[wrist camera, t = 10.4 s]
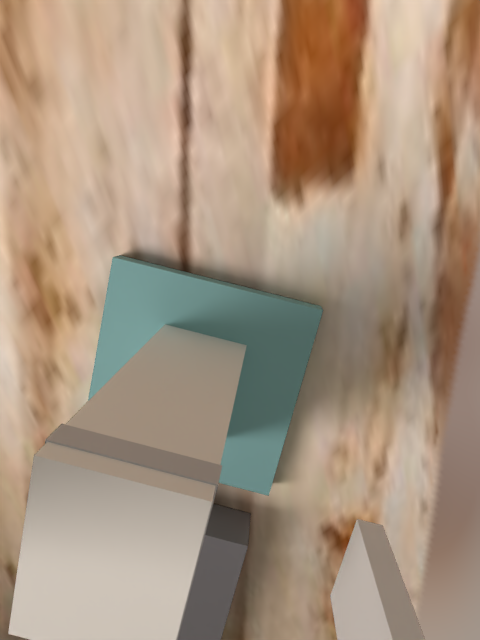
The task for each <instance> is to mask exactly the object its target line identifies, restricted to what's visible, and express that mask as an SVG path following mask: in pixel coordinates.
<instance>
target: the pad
mask: <svg viewBox="0 0 480 640" xmlns="http://www.w3.org/2000/svg"><path fill="white" fill-rule="evenodd" d="M322 312H323V309H322V307H321V306H319V305H315V304H311V303H307V302H303V301H299V300H295V299H291V298H287V297H283V296H279V295H275V294H271V293H267V292H263V291H259V290H255V289H251V288H247V287H244V286H240V285H236V284H232V283H228V282H224V281H220V280H216V279H212V278H208V277H204V276H200V275H196V274H192V273H188V272H184V271H180V270H176V269H172V268H168V267H164V266H160V265H157V264H153V263H149V262H145V261H141V260H137V259H133V258H129V257H125V256H121V255H119V256H115V257H113V259H112V265H111V271H110V277H109V282H108V288H107V294H106V300H105V306H104V311H103V317H102V323H101V329H100V335H99V340H98V346H97V352H96V358H95V364H94V370H93V375H92V381H91V387H90V393H89V399H88V401H89V400H90V399H91V398H92V397H93V396H94V395H95V394H96V393H97V392H98V391H99V390H100V389H101V388H102V387H103V386H104V385H105V384H106V383H107V382H108V381H109V380H110V379H111V378H112V377H113V376H114V375H115V374H116V373H117V372H118V371H119V370H120V369H121V368H122V367H123V366H124V365H125V364H126V363H127V362H128V361H129V360H130V359H131V358H132V357H133V356H134V355H135V354H136V353H137V352H138V351H139V350H140V349H141V348H142V347H143V346H144V345H145V344H146V343H147V342H148V341H149V340H150V339H151V338H152V337H153V336H154V335H155V334H156V333H157V332H158V331H159V330H160V329H161V328H162V327H163V326H164V325H169V326H173V327H177V328H181V329H185V330H189V331H193V332H197V333H201V334H205V335H208V336H212V337H216V338H220V339H224V340H228V341H232V342H236V343H240V344H244V345H247V346H246V351H245V355H244V360H243V364H242V369H241V373H240V378H239V382H238V387H237V391H236V396H235V401H234V405H233V410H232V414H231V419H230V423H229V428H228V432H227V437H226V441H225V446H224V450H223V455H222V459H221V464H220V465H222V469H221V474H220V479H219V483H222V484H226V485H230V486H233V487H237V488H241V489H245V490H249V491H252V492H256V493H260V494H264V495H268V496H269V492H270V489H271V486H272V482H273V479H274V475H275V472H276V469H277V465H278V462H279V459H280V455H281V452H282V448H283V445H284V442H285V438H286V435H287V431H288V428H289V425H290V421H291V418H292V414H293V411H294V408H295V404H296V401H297V397H298V394H299V391H300V387H301V384H302V380H303V377H304V374H305V370H306V367H307V363H308V360H309V357H310V353H311V350H312V346H313V343H314V340H315V336H316V333H317V329H318V326H319V323H320V319H321V316H322Z"/></svg>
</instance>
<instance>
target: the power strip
mask: <svg viewBox="0 0 480 640" xmlns="http://www.w3.org/2000/svg"><path fill="white" fill-rule="evenodd" d="M250 516H251V513H247V512H243V511H239V510H235V509H232V508H228V507H224V506H220V505H216V504H213V507H212V511H211V514H210V518H209V522H208V526H207V530H206V533H205V537H204V541H203V545H202V549H201V553H200V556H199V560H198V564H197V568H196V572H195V576H194V579H193V583H192V587H191V591H190V595H189V599H188V602H187V606H186V610H185V614H184V618H183V621H182V625H181V629H180V633H179V637H178V640H221V637H222V634H223V630H224V627H225V624H226V620H227V617H228V613H229V610H230V606H231V603H232V599H233V596H234V593H235V589H236V586H237V582H238V579H239V575H240V572H241V569H242V565H243V562H244V558H245V555H246V551H247V548H248V540H249V528H250Z"/></svg>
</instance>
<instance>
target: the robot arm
mask: <svg viewBox="0 0 480 640" xmlns="http://www.w3.org/2000/svg"><path fill="white" fill-rule="evenodd" d="M330 597H331V603H332V609H333V615H334V622H335V628H336V634H337V640H425V638H424V635H423V632H422V630H421V627H420V624H419V622H418V619H417V616H416V613H415V611H414V608H413V605H412V603H411V600H410V597H409V595H408V592H407V589H406V587H405V584H404V581H403V579H402V576H401V573H400V570H399V568H398V565H397V562H396V560H395V557H394V554H393V552H392V549H391V546H390V544H389V541H388V538H387V536H386V533H385V530H384V528H383V525H379V524H375V523H371V522H367V521H363V520H359V519H357V521H356V523H355V526H354V529H353V532H352V535H351V538H350V541H349V544H348V546H347V549H346V552H345V555H344V558H343V561H342V564H341V567H340V569H339V572H338V575H337V578H336V581H335V584H334V587H333V590H332V592H331V595H330Z"/></svg>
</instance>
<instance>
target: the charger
mask: <svg viewBox="0 0 480 640" xmlns="http://www.w3.org/2000/svg"><path fill="white" fill-rule="evenodd" d="M246 346H247V345H244V344H240V343H236V342H232V341H228V340H224V339H220V338H216V337H212V336H208V335H205V334H201V333H197V332H193V331H189V330H185V329H181V328H177V327H173V326H169V325H164V326H163V327H162V328H161V329H160V330H159V331H158V332H157V333H156V334H155V335H154V336H153V337H152V338H151V339H150V340H149V341H148V342H147V343H146V344H145V345H144V346H143V347H142V348H141V349H140V350H139V351H138V352H137V353H136V354H135V355H134V356H133V357H132V358H131V359H130V360H129V361H128V362H127V363H126V364H125V365H124V366H123V367H122V368H121V369H120V370H119V371H118V372H117V373H116V374H115V375H114V376H113V377H112V378H111V379H110V380H109V381H108V382H107V383H106V384H105V385H104V386H103V387H102V388H101V389H100V390H99V391H98V392H97V393H96V394H95V395H94V396H93V397H92V398H91V399H90V400H89V401H88V402H87V403H86V404H85V405H84V406H83V407H82V408H81V409H80V410H79V411H78V412H77V413H76V414H75V415H74V416H73V417H72V418H71V419H70V420H69V421H68V422H67V423H66V424H61V425H60V426H59V427H58V428H57V429H56V430H55V431H54V432H53V433H52V434H51V435H50V436H49V437H48V438H47V439H46V441H45V445H44V446H43V447H42V448H41V449H40V450H39V451H38V452H37V453H36V454H35V455H34V459H33V466H32V473H31V480H30V487H29V494H28V501H27V507H26V514H25V521H24V528H23V535H22V542H21V549H20V556H19V563H18V569H17V576H16V583H15V590H14V597H13V604H12V611H11V618H10V625H9V632H8V634H11V635H15V636H18V637H22V638H26V639H30V640H178V637H179V633H180V629H181V625H182V621H183V618H184V614H185V610H186V606H187V602H188V599H189V595H190V591H191V587H192V583H193V579H194V576H195V572H196V568H197V564H198V560H199V556H200V553H201V549H202V545H203V541H204V537H205V533H206V530H207V526H208V522H209V518H210V514H211V511H212V507H213V503H214V499H215V495H216V491H217V488H218V484H219V479H220V474H221V469H222V465H220V464H221V459H222V455H223V450H224V446H225V441H226V437H227V432H228V428H229V423H230V419H231V414H232V410H233V405H234V401H235V396H236V391H237V387H238V382H239V378H240V373H241V369H242V364H243V360H244V355H245V351H246Z"/></svg>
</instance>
